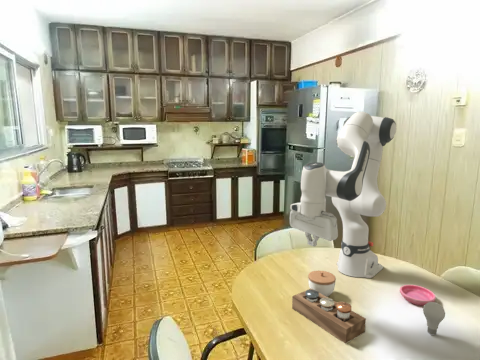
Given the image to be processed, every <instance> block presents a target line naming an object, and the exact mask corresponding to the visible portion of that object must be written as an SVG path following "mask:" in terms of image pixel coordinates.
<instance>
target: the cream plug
mask: <svg viewBox="0 0 480 360" xmlns="http://www.w3.org/2000/svg"><path fill="white" fill-rule="evenodd" d="M334 301H335V300H334V299H332V298H329V297H328V298H321V299H320V305H321V309H323V310H325V311H326V312H329V311H331V310H333V307H334Z"/></svg>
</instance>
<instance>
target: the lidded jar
mask: <svg viewBox="0 0 480 360" xmlns="http://www.w3.org/2000/svg"><path fill="white" fill-rule="evenodd" d="M307 276H308V277H307V278H308V287H309V289H313V290H316V291H318V292H319V293H321V294H322V295H324V296H326V297H328V298H329V296H331V295H332V294H333V293H334V290H335V286H336V279H337V278H336V276H335V275H334V274H333V273H331V272H330V271H326V270H313V271H310V272H309V273H308V275H307Z"/></svg>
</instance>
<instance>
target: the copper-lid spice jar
mask: <svg viewBox="0 0 480 360" xmlns="http://www.w3.org/2000/svg"><path fill="white" fill-rule="evenodd" d="M336 309H337V318H338V319H340V320H341V321H343V322H347V321H348V320H350V312H351V311H352V305H351V304H350V303H349V302H346V301H338V302H337V304H336Z"/></svg>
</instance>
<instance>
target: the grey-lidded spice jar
mask: <svg viewBox="0 0 480 360" xmlns="http://www.w3.org/2000/svg"><path fill="white" fill-rule="evenodd" d="M305 291H306V290H305ZM305 296H306V300H308V301H310V302H311V303H313V302H316V301H317V298H318V297H319V293H318V291H316V290H309V289H307V291H306V292H305Z"/></svg>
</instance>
